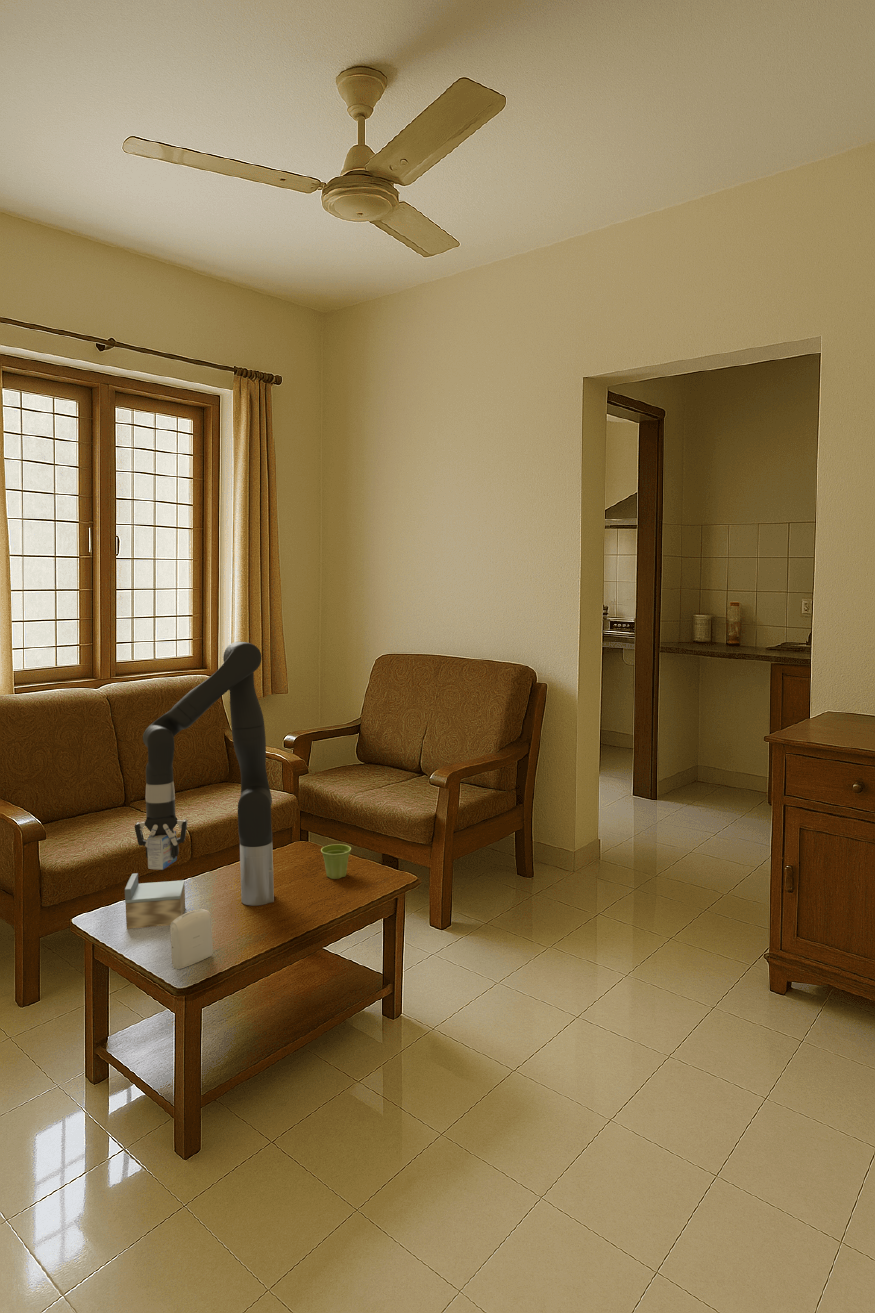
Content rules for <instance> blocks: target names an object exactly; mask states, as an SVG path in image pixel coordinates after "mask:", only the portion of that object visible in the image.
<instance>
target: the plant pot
mask: <svg viewBox="0 0 875 1313" xmlns="http://www.w3.org/2000/svg"><path fill="white" fill-rule="evenodd" d="M351 850H352V847H351V846H349V845H347V844H340V843H339V844H338V843H337V844H329V845H326V846H323V847H321V849H320V852H321V854H322V857H323V862H324V867H325V874H326V877H327V878H329V879H332V880H339V879H341V878H345V877H346V876H347V872H348V862H349V856H350V853H351V852H352V851H351Z"/></svg>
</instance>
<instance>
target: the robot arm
mask: <svg viewBox="0 0 875 1313" xmlns="http://www.w3.org/2000/svg"><path fill="white" fill-rule="evenodd" d="M222 657H223V658H222V659H223V662H222V665H220V666H219V668H218V669H217V670H216V671H215V672H214V673H212V674H211V676H209V677H207V679H205V680H204V681H202V682H201V683H200V684H198V685H197V686H195V687H194V688H193V689H191V690H189V691H188V693H186V694H185V695H184V696H182V698H180V700H179V701H177V702H176V703H175V704H174V705H173V706H172V708H170V709H169V710H168V711H167V712H166V713H164V714H163V715H161V716H160V717H158V718H157V719H156V720H154V721H153V722H152V723H151V724H149V725H148V727H146V728H145V731H144V732H143V735H142V742H143V744H144V745H145V747H146V748H147V763H146V765H145V783H146V785H145V797H144V798H145V811H146V813H145V814H146V818H145V821H142V822H139V821H137V822H135V825H134V831H135V836H136V840H137V844H138V846H143V847H144V848H145V857H146V859H148V851H147V839H148V838H150V837H154V835H155V836H157V835H168V837H169V838H170V839H171V841H172V843H173V846H172V850H173V859H176V856H177V857H178V856H179V845H180V844H183V843H184V842H185V840H186V837H187V836H186V834H187V828H188V822H189V820H188V819H186V818H184V819H178V818H177V816H176V794H175V793H176V791H175V783H174V782H175V781H174V767H173V766H174V765H173V764H174V755H175V736H176V735H177V734H179V733H180V732H181V731H182V730H186V729H188V728H190V727H191V726H192V725H193V724H194V723H195V722H196V721H197V720H199V718H201V717H202V716H203V714H204V713H206V711H207V710H209V709H210V708H211V707H212V706H213V705H214V704H215V703H216V702H217V701H218V700H219V699H220V698H221V697H222V696H223V695H225V694H226V693H227V692H229V708H230V709H229V710H230V711H229V712H230V724H231V727H230V728H231V736H232V737H231V738H232V743H233V748H234V752H235V756H236V760H237V761H238V762H237V763H238V766H239V771H240V797H239V799H238V803H237V828H238V829H237V830H238V838H239V864H240V867H239V868H240V870H239V871H240V897H241V898H240V899H241V901H240V902H241V903H242V904H244V905H246V906H252V907H253V906H255V907H256V906H262V905H263V906H264V905H267V904H270V903H274V902H275V894H274V888H275V887H274V860H273V859H274V858H273V856H274V855H273V854H274V853H273V831H272V830H273V829H272V803H273V797H272V793H271V789H270V784H269V780H268V774H267V766H266V761H267V743H266V742H267V740H266V728H265V727H266V726H265V719H264V714H263V711H262V708H261V705H260V701H259V698H258V696H257V693H256V688H255V679H254V678H255V675H254V672H256V671H257V670H258V669H259V667H260V665H261V664H262V653H261V651H260V649H259V647H257V646H256V645H255V644H253V643H251V642H246V641H234V642H232V643H230V644H228V645H227V647H226V648H225V650H224V652H223V656H222ZM177 825H178V827H179V829H181V830H180V834H179V836H180V837H177V833H176V834H175V832H174V831H175V830H174V829H175V827H176V826H177ZM145 827H146V828H147V830H148V831H149V832H150V833H149V836H148V837H147V839H145V838H144V834H143V830H144V828H145Z"/></svg>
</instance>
